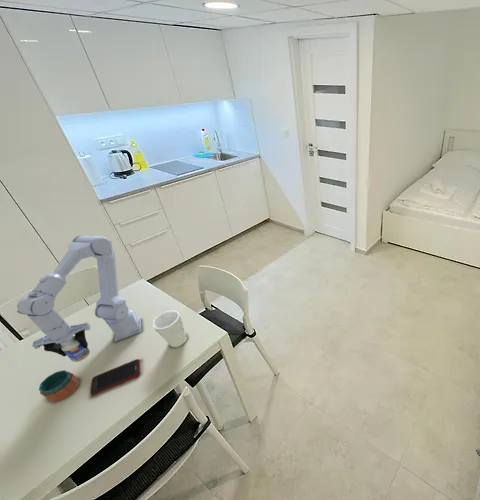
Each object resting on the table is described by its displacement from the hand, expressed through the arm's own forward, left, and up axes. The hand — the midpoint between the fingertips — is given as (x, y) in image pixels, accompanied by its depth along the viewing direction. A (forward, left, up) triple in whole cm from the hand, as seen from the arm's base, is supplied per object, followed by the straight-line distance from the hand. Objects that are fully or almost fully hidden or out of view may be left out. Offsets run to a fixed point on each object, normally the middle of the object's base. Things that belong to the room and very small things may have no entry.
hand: (76, 350), depth 102 cm
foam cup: (-29, +5, -11) cm, 32 cm away
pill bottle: (0, 0, -4) cm, 4 cm away
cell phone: (-8, +11, -11) cm, 17 cm away
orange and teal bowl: (+8, +5, -10) cm, 14 cm away
